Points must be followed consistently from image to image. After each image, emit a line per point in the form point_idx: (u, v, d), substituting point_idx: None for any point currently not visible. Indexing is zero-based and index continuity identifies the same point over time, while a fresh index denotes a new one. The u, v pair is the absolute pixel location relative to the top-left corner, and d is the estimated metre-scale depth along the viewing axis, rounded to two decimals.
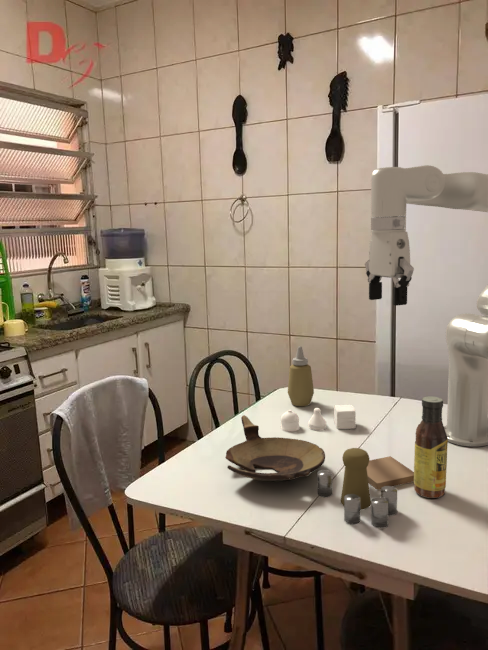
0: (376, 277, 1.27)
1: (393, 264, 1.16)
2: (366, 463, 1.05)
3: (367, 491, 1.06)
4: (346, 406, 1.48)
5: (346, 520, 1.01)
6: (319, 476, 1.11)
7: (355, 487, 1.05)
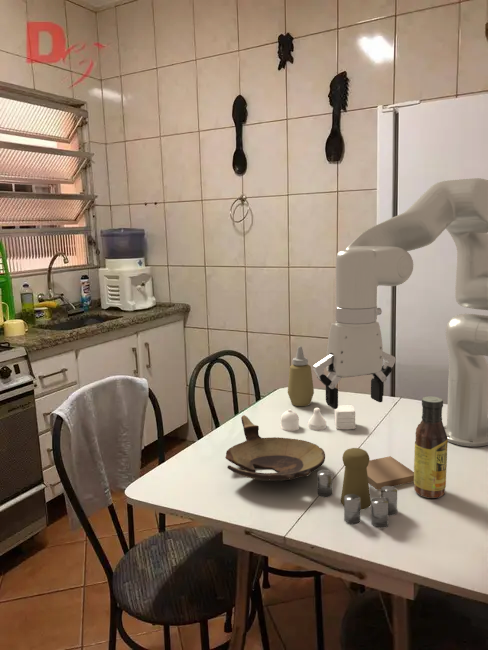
0: None
1: (382, 357, 1.03)
2: (366, 463, 1.05)
3: (367, 491, 1.06)
4: (346, 406, 1.48)
5: (346, 520, 1.01)
6: (319, 476, 1.11)
7: (355, 487, 1.05)
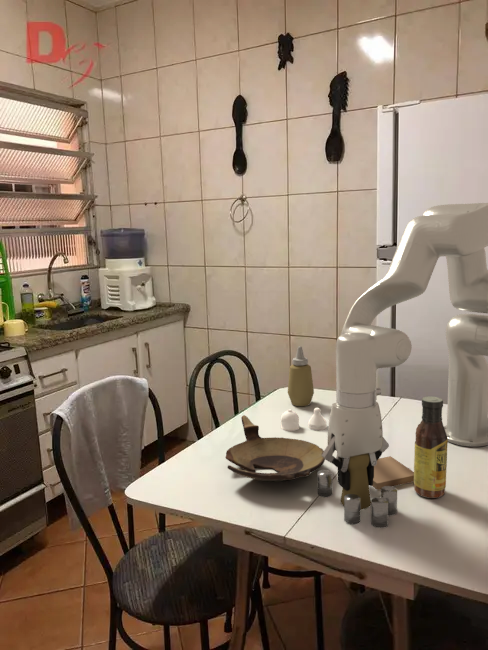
0: None
1: (382, 436, 1.06)
2: (366, 463, 1.05)
3: (367, 491, 1.06)
4: None
5: (346, 520, 1.01)
6: (319, 476, 1.11)
7: (355, 487, 1.05)
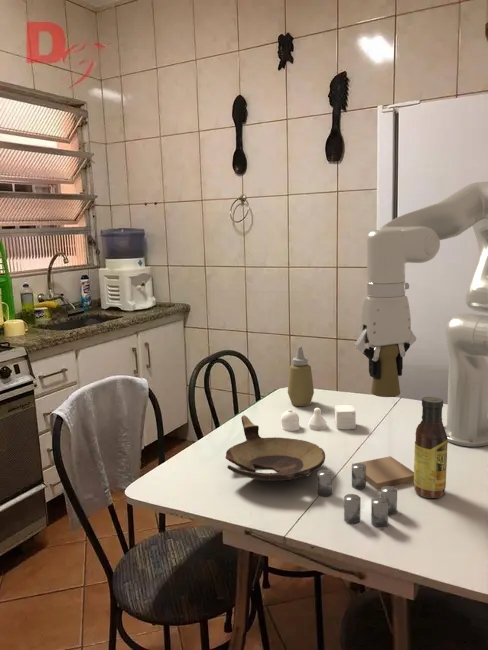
0: None
1: (410, 328, 1.13)
2: (396, 352, 1.12)
3: (397, 380, 1.13)
4: (347, 406, 1.48)
5: (346, 520, 1.01)
6: (319, 476, 1.11)
7: (386, 375, 1.12)
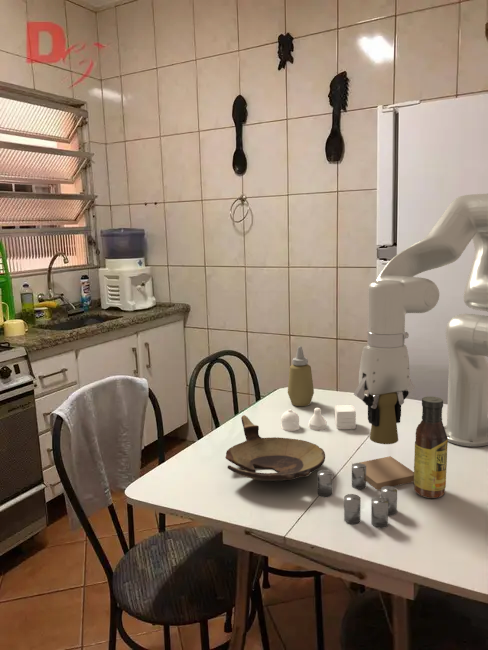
0: None
1: (409, 377, 1.15)
2: (394, 400, 1.14)
3: (395, 427, 1.15)
4: (347, 406, 1.48)
5: (346, 520, 1.01)
6: (319, 476, 1.11)
7: (385, 423, 1.14)
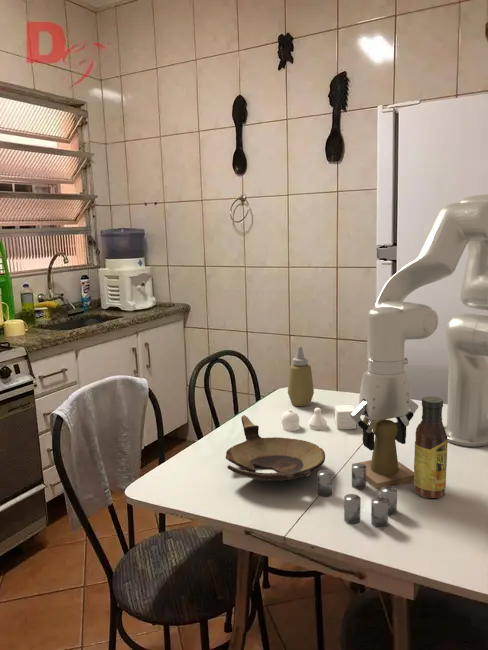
0: None
1: (409, 402, 1.16)
2: (395, 432, 1.15)
3: (395, 458, 1.17)
4: (347, 406, 1.48)
5: (346, 520, 1.01)
6: (319, 476, 1.11)
7: (385, 454, 1.16)
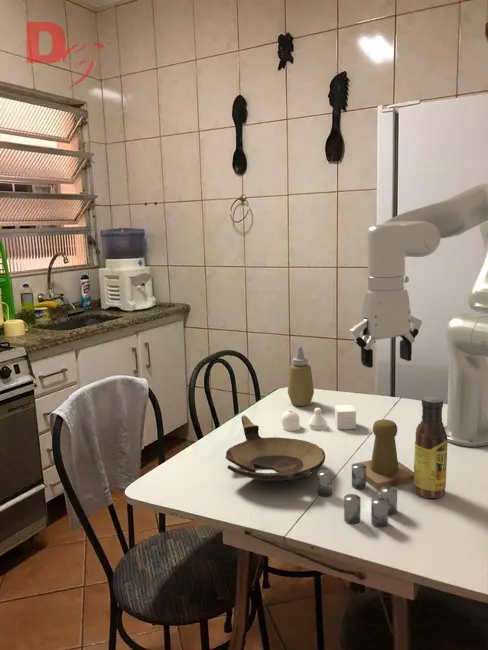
0: None
1: (410, 320, 1.15)
2: (395, 432, 1.15)
3: (395, 458, 1.17)
4: (347, 406, 1.48)
5: (346, 520, 1.01)
6: (319, 476, 1.11)
7: (385, 454, 1.16)
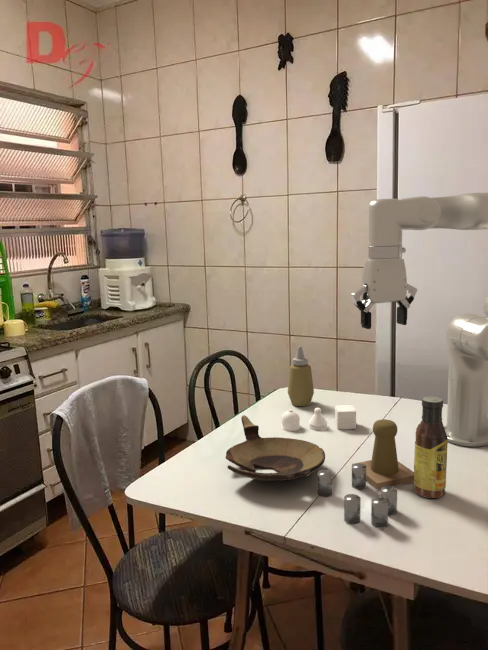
0: None
1: (406, 287, 1.27)
2: (395, 432, 1.15)
3: (395, 458, 1.17)
4: (347, 406, 1.48)
5: (346, 520, 1.01)
6: (319, 476, 1.11)
7: (385, 454, 1.16)
